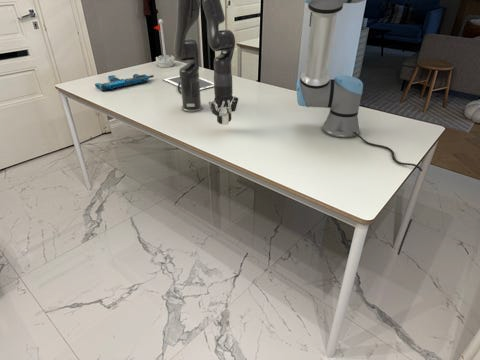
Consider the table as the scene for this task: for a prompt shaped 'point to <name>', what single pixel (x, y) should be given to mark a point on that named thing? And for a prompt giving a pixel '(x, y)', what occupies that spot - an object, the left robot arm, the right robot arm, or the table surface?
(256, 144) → the table surface
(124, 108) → the table surface
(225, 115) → the can
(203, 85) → the tablet
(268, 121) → the table surface
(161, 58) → the flag stand
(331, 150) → the table surface
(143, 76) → the submachine gun
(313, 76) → the right robot arm
